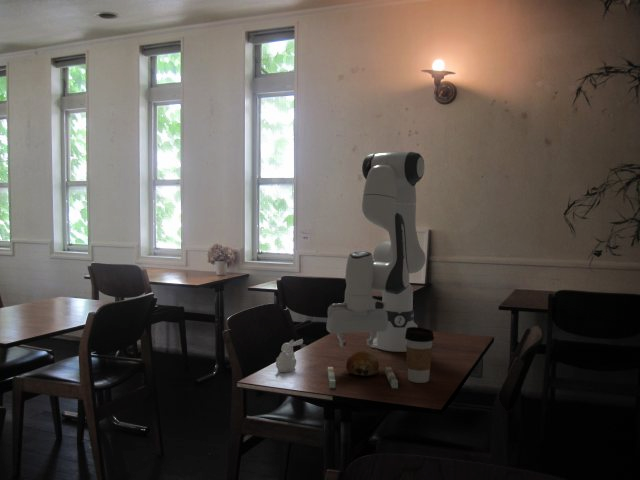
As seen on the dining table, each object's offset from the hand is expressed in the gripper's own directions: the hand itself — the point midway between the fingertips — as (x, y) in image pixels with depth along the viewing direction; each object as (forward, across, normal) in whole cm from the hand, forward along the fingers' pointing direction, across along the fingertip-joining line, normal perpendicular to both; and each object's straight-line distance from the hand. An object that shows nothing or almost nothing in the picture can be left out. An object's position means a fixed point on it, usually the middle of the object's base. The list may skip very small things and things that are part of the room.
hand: (356, 345), depth 183 cm
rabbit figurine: (+7, -21, +3) cm, 23 cm away
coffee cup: (+6, +11, -19) cm, 23 cm away
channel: (+6, -5, -15) cm, 17 cm away
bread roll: (+7, -3, -10) cm, 13 cm away
